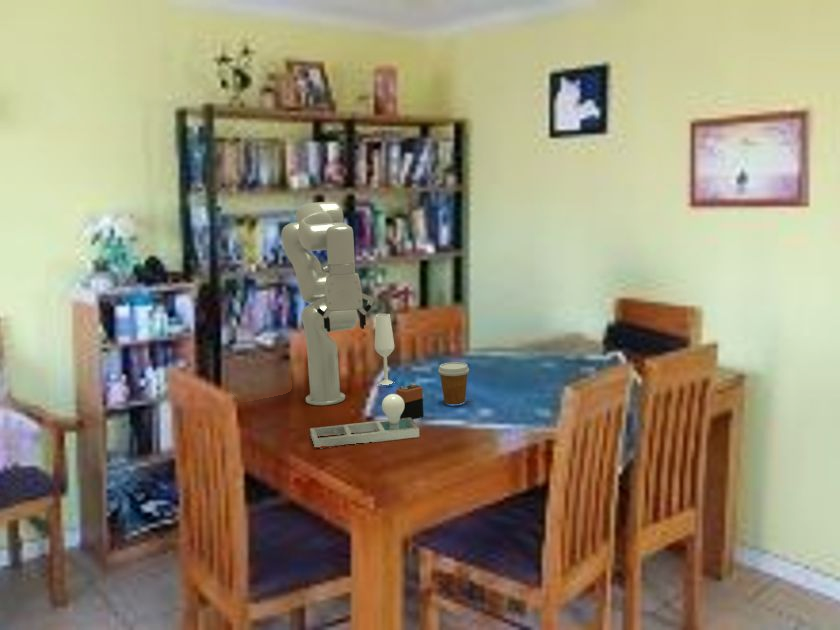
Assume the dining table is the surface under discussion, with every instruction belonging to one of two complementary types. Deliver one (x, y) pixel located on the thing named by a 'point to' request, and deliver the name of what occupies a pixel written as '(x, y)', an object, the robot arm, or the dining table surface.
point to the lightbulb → (393, 409)
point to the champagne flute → (384, 341)
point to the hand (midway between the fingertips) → (345, 329)
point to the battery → (411, 400)
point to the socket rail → (382, 433)
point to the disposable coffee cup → (454, 381)
